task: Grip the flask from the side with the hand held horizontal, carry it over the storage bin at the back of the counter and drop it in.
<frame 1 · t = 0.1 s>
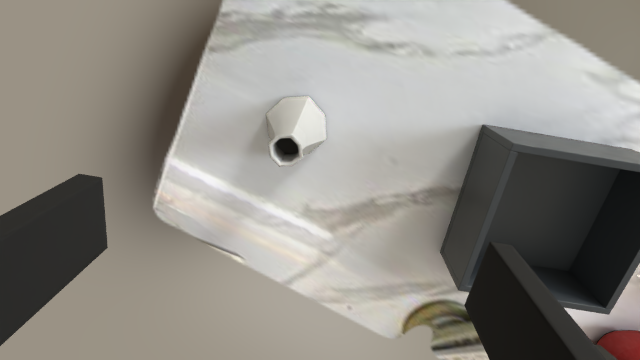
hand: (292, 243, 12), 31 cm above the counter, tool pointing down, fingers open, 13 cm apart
storage bin: (528, 204, 45), on the counter
apple: (613, 341, 52), on the counter
flask: (297, 125, 43), on the counter
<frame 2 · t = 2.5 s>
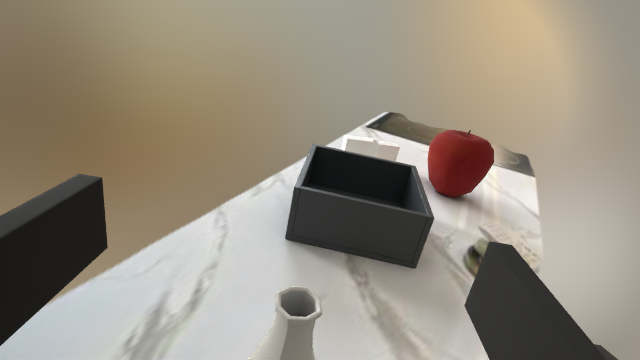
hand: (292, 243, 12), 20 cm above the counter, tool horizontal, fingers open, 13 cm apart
storage bin: (352, 220, 55), on the counter
apple: (446, 192, 73), on the counter
napkin holder: (368, 165, 79), on the counter
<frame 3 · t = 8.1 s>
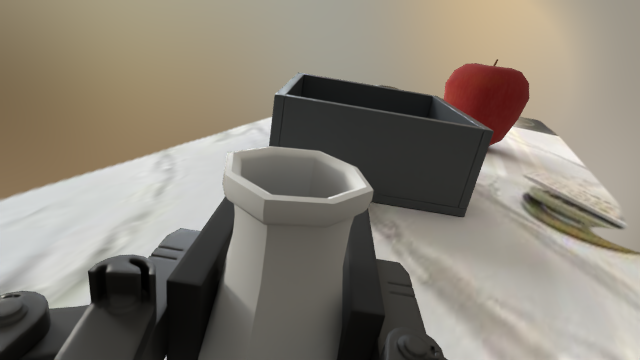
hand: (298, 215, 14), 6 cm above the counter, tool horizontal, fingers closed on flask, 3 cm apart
storage bin: (359, 166, 39), on the counter
apple: (468, 145, 58), on the counter
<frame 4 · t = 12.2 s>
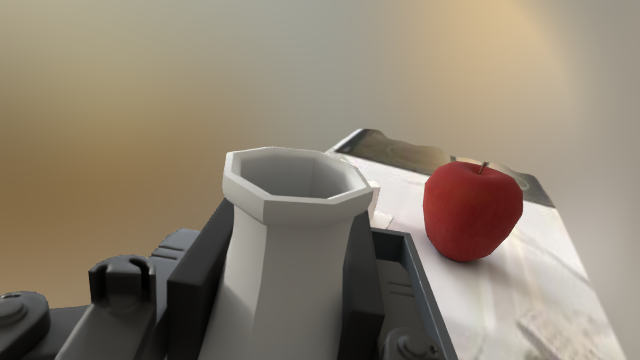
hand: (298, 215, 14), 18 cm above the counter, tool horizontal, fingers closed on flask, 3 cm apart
storage bin: (306, 348, 31), on the counter
apple: (452, 252, 50), on the counter
napkin holder: (337, 215, 54), on the counter
when the fingers open (12 cm above the counter, at t = 16.2 s): flask drops 5 cm, resting on storage bin.
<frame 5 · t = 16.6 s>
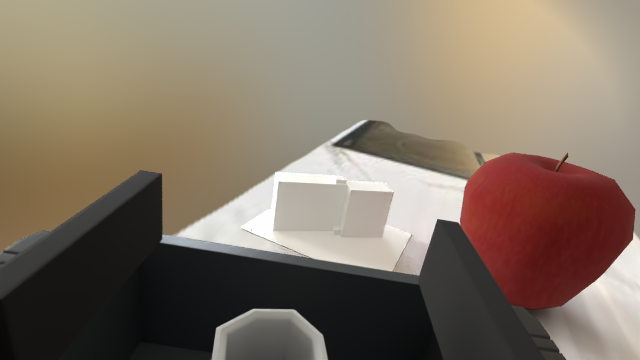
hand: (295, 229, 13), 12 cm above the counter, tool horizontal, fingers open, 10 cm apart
apple: (503, 292, 33), on the counter
napkin holder: (330, 232, 38), on the counter
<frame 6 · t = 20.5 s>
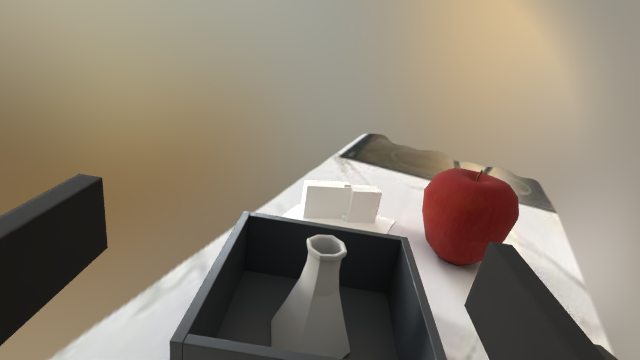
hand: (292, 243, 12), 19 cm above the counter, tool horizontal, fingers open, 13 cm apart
storage bin: (308, 344, 33), on the counter
apple: (451, 256, 52), on the counter
napkin holder: (340, 219, 57), on the counter
flask: (308, 340, 33), point 1 cm above the counter, touching storage bin
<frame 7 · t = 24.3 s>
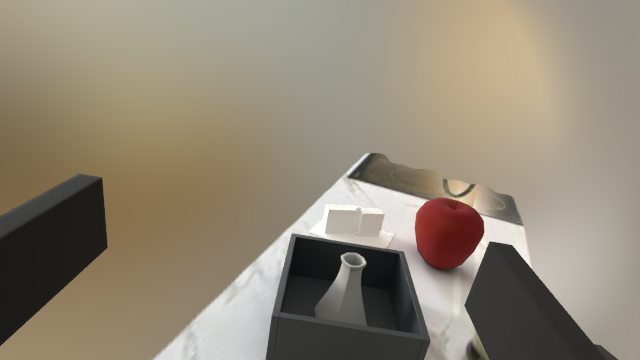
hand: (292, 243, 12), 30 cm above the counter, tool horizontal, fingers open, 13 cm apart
storage bin: (338, 323, 50), on the counter
apple: (436, 262, 69), on the counter
napkin holder: (352, 234, 74), on the counter
flask: (339, 320, 50), point 1 cm above the counter, touching storage bin
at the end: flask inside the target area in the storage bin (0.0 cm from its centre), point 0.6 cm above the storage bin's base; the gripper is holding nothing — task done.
